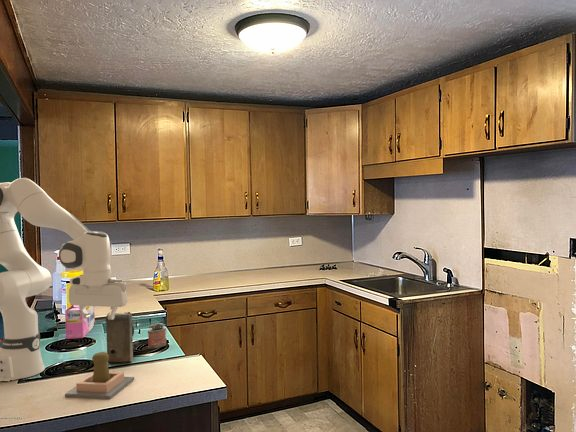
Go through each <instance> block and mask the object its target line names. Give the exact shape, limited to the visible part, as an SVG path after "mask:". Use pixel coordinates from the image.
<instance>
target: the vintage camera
mask: <svg viewBox="0 0 576 432" xmlns="http://www.w3.org/2000/svg"><path fill="white" fill-rule="evenodd" d="M110 313H111V312H108V313H107V314H106V316H105V325H106V326H105V327H106V353H107V354H108V355H109V359H108V361H107V364H117V363H118V364H122V363H133V360H134V351H135V350H137V348H138V347H139V346H140V344H141V342H140V341H135V342H133V337H134V334H135V327H134V325H133V315H132V314H133V313H132V312H130V311H127V312H122V313H121V312H119V313H118V312H115V318H114V319H113V320H109V319H108V314H110Z"/></svg>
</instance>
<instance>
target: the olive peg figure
mask: <svg viewBox="0 0 576 432" xmlns="http://www.w3.org/2000/svg"><path fill="white" fill-rule="evenodd" d="M91 359H92V363H93V372H92V373H93V382H97V383H106V382H107V381H108V380H110V375H109V372H110V371H109V363H108V359H109V355H108V354H107V351H100V352H96V353H94V354H93V355H92V358H91Z"/></svg>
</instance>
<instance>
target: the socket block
mask: <svg viewBox="0 0 576 432" xmlns="http://www.w3.org/2000/svg"><path fill="white" fill-rule="evenodd" d="M109 375H110V380H108V381H107V382H106V383H97V382H93V372H92V373H90V374H88V375H87V376H85V377H84V378H83V379H81V380H79V381H78V382H76V383H75V385H76V386H74V387H72V389H70V390H68V391H66V392H65V393H64V397H65V398H82V399H85V398H86V399H101V400H102V399H104V400H111V399H112V398H113V397H114V396H116V395H117V394H118V393H120V392H121V391H123V390H124V389H125V388H126V387H127V386H128V384H129V385H130V384H131V383H132V382H134V381H135V380H136V379H135V378H136V377H135V376H125V372H123V371H122V372H121V371H109ZM134 379H135V380H134ZM133 380H134V381H133ZM124 387H125V388H124Z"/></svg>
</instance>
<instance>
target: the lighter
mask: <svg viewBox="0 0 576 432" xmlns="http://www.w3.org/2000/svg"><path fill="white" fill-rule="evenodd" d="M148 327H149V329H148V330H147V335H148V340H147V341H148V346H147V347H148V350H152V349H158V348H162V347H165V346H167V336H166V335H167V334H166V331H167V327H164V323H158V322H156V323H155V324H150V325H149V326H148Z"/></svg>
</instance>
